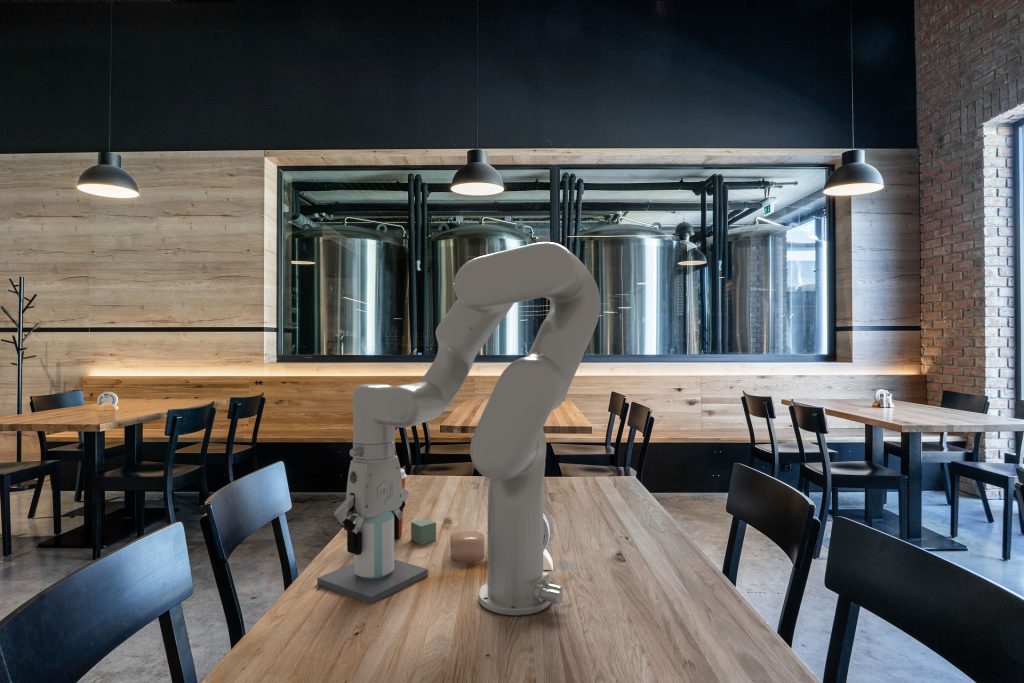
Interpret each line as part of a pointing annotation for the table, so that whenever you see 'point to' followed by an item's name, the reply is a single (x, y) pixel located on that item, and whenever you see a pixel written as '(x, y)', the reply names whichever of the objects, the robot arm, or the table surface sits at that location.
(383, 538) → the can
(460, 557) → the peach smooth rounded part
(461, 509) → the table surface
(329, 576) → the slate board
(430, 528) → the green block
